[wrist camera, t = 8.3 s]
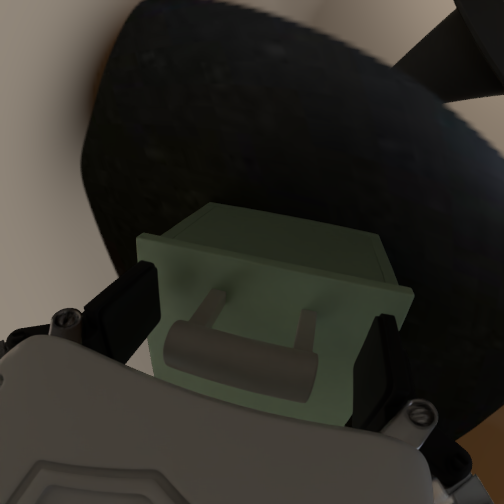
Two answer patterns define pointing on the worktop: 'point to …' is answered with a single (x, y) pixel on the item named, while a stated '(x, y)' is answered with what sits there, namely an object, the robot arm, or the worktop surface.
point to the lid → (262, 328)
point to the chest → (287, 240)
